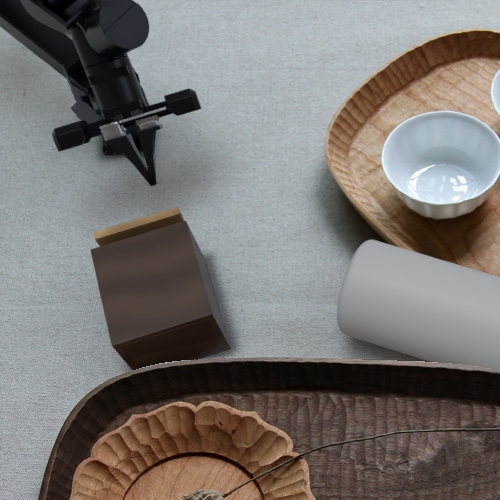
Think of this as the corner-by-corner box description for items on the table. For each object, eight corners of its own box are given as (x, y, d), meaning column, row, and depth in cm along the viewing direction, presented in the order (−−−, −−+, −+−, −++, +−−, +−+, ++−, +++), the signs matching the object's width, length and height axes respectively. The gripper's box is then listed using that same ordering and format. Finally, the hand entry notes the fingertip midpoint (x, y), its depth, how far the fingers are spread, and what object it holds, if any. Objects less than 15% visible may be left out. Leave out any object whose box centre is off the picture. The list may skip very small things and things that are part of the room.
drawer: (113, 257, 113) (91, 224, 106) (192, 233, 114) (175, 199, 107) (134, 346, 107) (112, 318, 100) (217, 320, 108) (201, 290, 101)
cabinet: (117, 287, 112) (90, 249, 103) (205, 260, 113) (185, 220, 104) (138, 378, 106) (111, 345, 98) (231, 348, 108) (212, 313, 99)
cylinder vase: (341, 349, 107) (523, 407, 102) (328, 303, 95) (533, 367, 91) (375, 271, 111) (552, 324, 107) (367, 218, 99) (565, 275, 95)
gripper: (181, 46, 110) (221, 160, 116) (46, 85, 109) (94, 199, 115) (176, 40, 100) (221, 166, 106) (28, 84, 99) (82, 209, 105)
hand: (154, 185), depth 108 cm, fingers closed
